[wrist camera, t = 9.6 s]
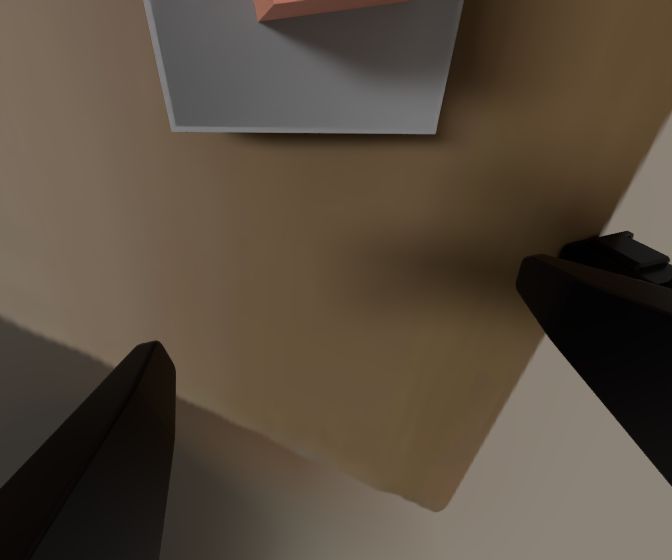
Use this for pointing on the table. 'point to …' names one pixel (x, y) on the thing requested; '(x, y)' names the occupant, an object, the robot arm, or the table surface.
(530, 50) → the table surface
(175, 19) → the grey box
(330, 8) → the red cube
